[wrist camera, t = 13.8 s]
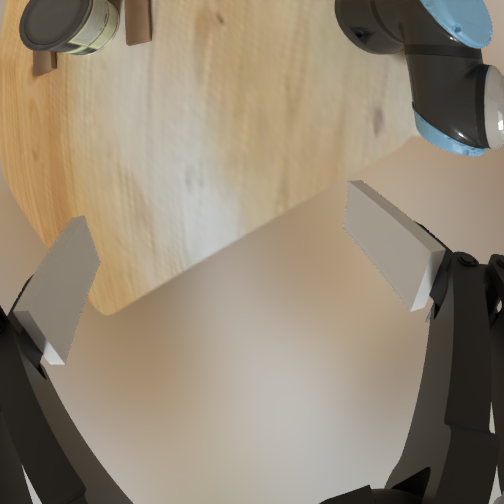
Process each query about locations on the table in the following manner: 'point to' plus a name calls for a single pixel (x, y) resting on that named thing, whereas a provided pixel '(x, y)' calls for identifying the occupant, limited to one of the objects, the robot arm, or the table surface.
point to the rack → (135, 34)
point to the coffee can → (68, 25)
